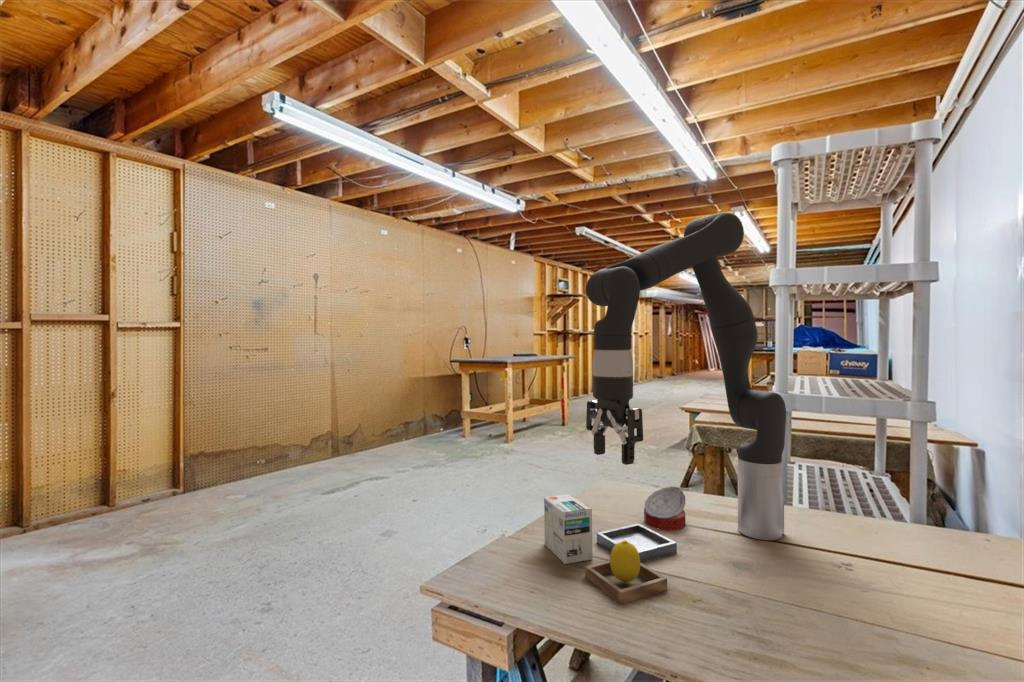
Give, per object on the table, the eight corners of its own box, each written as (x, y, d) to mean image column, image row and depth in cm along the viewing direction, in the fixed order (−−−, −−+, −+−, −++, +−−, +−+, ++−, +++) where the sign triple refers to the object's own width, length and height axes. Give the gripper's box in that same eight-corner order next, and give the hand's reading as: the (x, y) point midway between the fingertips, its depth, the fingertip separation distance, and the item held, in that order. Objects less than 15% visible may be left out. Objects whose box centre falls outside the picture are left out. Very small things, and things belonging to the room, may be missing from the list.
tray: (638, 532, 114) (638, 523, 114) (676, 553, 103) (676, 542, 103) (596, 542, 108) (596, 532, 108) (632, 565, 98) (632, 554, 98)
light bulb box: (593, 560, 100) (593, 508, 100) (564, 565, 98) (564, 512, 98) (570, 540, 110) (569, 492, 110) (543, 544, 108) (542, 496, 108)
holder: (628, 565, 97) (628, 555, 97) (667, 589, 88) (667, 578, 88) (585, 577, 93) (585, 566, 93) (620, 604, 83) (620, 592, 83)
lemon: (642, 579, 92) (642, 537, 92) (637, 593, 87) (637, 549, 87) (613, 573, 94) (613, 532, 94) (606, 587, 89) (606, 543, 89)
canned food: (686, 546, 117) (697, 517, 112) (644, 541, 117) (654, 512, 112) (675, 509, 127) (684, 481, 122) (636, 505, 127) (645, 477, 122)
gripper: (654, 375, 87) (654, 465, 87) (605, 370, 100) (606, 449, 100) (620, 377, 84) (621, 470, 84) (575, 372, 97) (575, 453, 97)
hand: (613, 458), depth 92 cm, fingers open, 8 cm apart
